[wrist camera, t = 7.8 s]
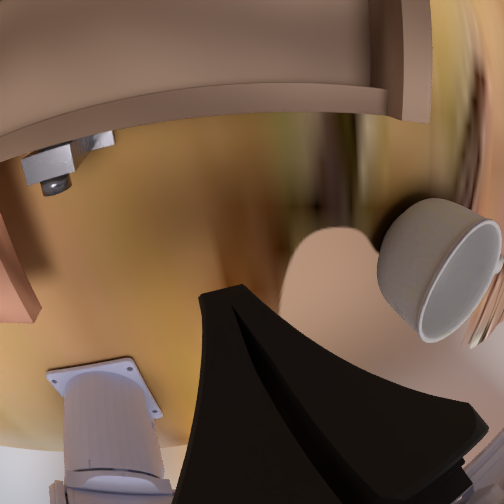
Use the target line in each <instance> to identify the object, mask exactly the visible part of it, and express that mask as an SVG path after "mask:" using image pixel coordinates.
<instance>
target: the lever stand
mask: <svg viewBox="0 0 504 504" xmlns="http://www.w3.org/2000/svg"><path fill="white" fill-rule="evenodd" d="M114 144H115V138H114V132H113V131H108V132H104V133H99V134H95V135H90V136H86V137H82V138H78V139H74V140H70V141H66V142H63V143H59V144H55V145H52V146H48V147H45V148H42V149H38V150H35V151H33V152H31V153H30V154H29V155H27V156H26V157H24V158H23V159H21V163H22V167H23V171H24V175H25V179H26V183H27V186H29V185H32V184H35V183H38V182H40V184H41V188H42V192H43V195H44V196H52V195H56V194H59V193H61V192H63V191H65V190H67V189H68V188H70V187H71V186H72V182H71V178H70V174H69V173H71V172H75V171H76V169H77V168H78V167H79V165H80V164H81V163H82V161H83V160H84V159H85V157H86V156H87V155H88V153H89V152H90V151H91V150H95V149H99V148H102V147H107V146H111V145H114Z"/></svg>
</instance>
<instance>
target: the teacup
mask: <svg viewBox="0 0 504 504" xmlns="http://www.w3.org/2000/svg"><path fill="white" fill-rule="evenodd" d="M501 247H502V235H501V230H500V227H499V225H498V224H497V223H496V222H495V221H493V220H492V219H488V218H485V217H483V216H481V215H479V214H477V213H475V212H473V211H471V210H469V209H467V208H465V207H463V206H461V205H459V204H456V203H454V202H451V201H448V200H445V199H440V198H430V199H425V200H422V201H420V202H418V203H416V204H414V205H412V206H411V207H409V208H408V209H407V210H406V211H405V212H404V213H402V214H401V215H400V216H399V217H398V218H397V219H396V220H395V221H394V222H393V223H392V225H391V226H390V228H389V229H388V231H387V233H386V235H385V237H384V239H383V242H382V245H381V248H380V254H379V258H378V264H377V278H378V284H379V287H380V290H381V292H382V295H383V296H384V298H385V299H386V301H387V302H388V303H389V304H390V305H391V307H392V308H393V309H394V310H395V311H396V312H397V313H398V314H399V315H400V316H401V317H402V318H403V319H404V320H405V321H406V322H407V323H408V324H409V325H410V326H411V327H412V328H413V329H414V330H415V331H416V332H417V333H418V336H419V337H420V339H422V340H423V341H424V342H427V343H434V342H437V341H440V340H442V339H444V338H445V337H447V336H449V335H450V334H451V333H453V332H454V331H455V330H456V329H457V328H458V327H460V326H461V325H462V324H463V323H464V322H465V321H466V319H467V318H468V317H469V316H470V315H471V314H472V312H473V311H474V310H475V308H476V307H477V306H478V304H479V303H480V301H481V300H482V298H483V296H484V294H485V293H486V291H487V289H488V287H489V285H490V283H491V281H492V278H493V276H494V274H497V273H498V272H499V271H500V270H501V268H502V266H503V261H504V260H503V256H502V254H501Z"/></svg>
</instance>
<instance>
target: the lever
mask: <svg viewBox="0 0 504 504" xmlns="http://www.w3.org/2000/svg"><path fill="white" fill-rule="evenodd" d="M431 95H432V26H431V11H430V0H0V162H2V161H5V160H8V159H11V158H14V157H17V156H20V155H23V154H26V153H29V152H32V151H35V150H38V149H42V148H45V147H48V146H52V145H55V144H59V143H63V142H66V141H70V140H74V139H78V138H82V137H86V136H90V135H95V134H99V133H104V132H108V131H113V130H118V129H123V128H128V127H134V126H139V125H145V124H151V123H158V122H164V121H171V120H179V119H187V118H196V117H205V116H215V115H227V114H241V113H260V112H341V113H359V114H373V115H385V116H390V117H393V118H396V119H399V120H401V121H410V122H418V123H425V124H430V111H431ZM41 309H42V307H41V305H40V303H39V301H38V299H37V297H36V295H35V293H34V291H33V289H32V287H31V285H30V283H29V281H28V279H27V277H26V275H25V272H24V270H23V268H22V266H21V263H20V261H19V259H18V257H17V254H16V252H15V249H14V247H13V244H12V242H11V239H10V237H9V234H8V232H7V229H6V226H5V223H4V221H3V218H2V215H1V212H0V323H34V322H35V320H36V318H37V316H38V314H39V312H40V311H41Z"/></svg>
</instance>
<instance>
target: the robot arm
mask: <svg viewBox="0 0 504 504" xmlns="http://www.w3.org/2000/svg"><path fill="white" fill-rule="evenodd" d="M198 299H199V304H200V309H201V314H202V358H201V368H200V379H199V387H198V394H197V401H196V407H195V413H194V418H193V423H192V428H191V433H190V438H189V442H188V446H187V451H186V455H185V459H184V462H183V466H182V469H181V473H180V477H179V480H178V484H177V487H176V490H172V488H171V484H170V480H169V479H163V476H164V466H163V461H162V457H161V453H160V448H159V444H158V439H157V434H156V429H155V424H154V419H158V418H161V417H162V416H163V414H162V411H161V410H160V408H159V406H158V405H157V403H156V401H155V399H154V398H153V396H152V394H151V392H150V391H149V389H148V387H147V385H146V383H145V381H144V380H143V378H142V376H141V374H140V372H139V370H138V368H137V366H136V364H135V362H134V361H133V359H131V358H122V359H117V360H112V361H107V362H101V363H96V364H90V365H84V366H78V367H72V368H66V369H59V370H53V371H48V372H47V373H46V378H47V379H48V380H49V382H50V383H51V384H52V385H53V386H54V388H55V389H56V390H57V391H58V392H59V394H60V395H61V396H62V397H63V398H64V463H65V478H64V485H63V481H59V480H55V482H54V483H53V484H52V485H50V486H49V493H50V504H504V428H503V429H502V430H501V431H500V432H499V433H498V434H497V435H496V437H495V438H494V439H493V440H492V441H491V442H490V443H489V444H488V445H487V446H486V447H485V448H484V449H483V450H482V451H481V452H480V453H479V454H478V455H477V456H476V457H475V458H474V459H473V460H472V461H471V462H470V463H468V464H467V465H466V466H465V467H464V468H463V469H462V467H461V466H462V465H463V464H464V463H465V460H464V459H463V458H462V457H463V456H464V455H466V454H467V453H468V452H469V451H470V450H471V449H472V448H473V447H474V446H475V445H476V444H477V443H478V442H479V441H480V440H481V439H482V438H483V437H484V436H485V435H486V434H487V432H488V429H489V427H488V425H487V424H486V423H485V422H484V420H483V419H482V418H481V417H480V416H479V415H478V413H477V412H476V411H475V410H474V408H473V407H472V406H471V405H470V404H469V403H466V402H460V401H456V400H451V399H446V398H442V397H437V396H433V395H429V394H426V393H422V392H419V391H416V390H412V389H409V388H406V387H404V386H401V385H399V384H396V383H393V382H391V381H388V380H386V379H383V378H381V377H379V376H376V375H373V374H371V373H369V372H367V371H365V370H363V369H361V368H359V367H357V366H355V365H353V364H351V363H349V362H347V361H345V360H343V359H342V358H340V357H338V356H336V355H335V354H333V353H331V352H330V351H328V350H326V349H324V348H323V347H322V346H320V345H318V344H317V343H315V342H314V341H312V340H311V339H309V338H308V337H306V336H305V335H304V334H302V333H301V332H299V331H298V330H297V329H295V328H294V327H293V326H291V325H290V324H289V323H288V322H286V321H285V320H284V319H282V318H281V317H280V316H279V315H277V314H276V313H275V312H274V311H273V310H271V309H270V308H269V307H268V306H267V305H266V304H264V303H263V302H262V301H261V300H260V299H259V298H258V297H257V296H255V295H254V294H253V293H252V292H251V291H250V290H249V289H248V288H247V287H246V286H244V285H243V284H240V285H236V286H232V287H228V288H224V289H220V290H216V291H212V292H207V293H203V294H201V295H200V296H199V298H198ZM461 496H462V499H460V500H458V498H460V497H461ZM457 500H458V501H457ZM455 501H456V502H455ZM454 502H455V503H454Z"/></svg>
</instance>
